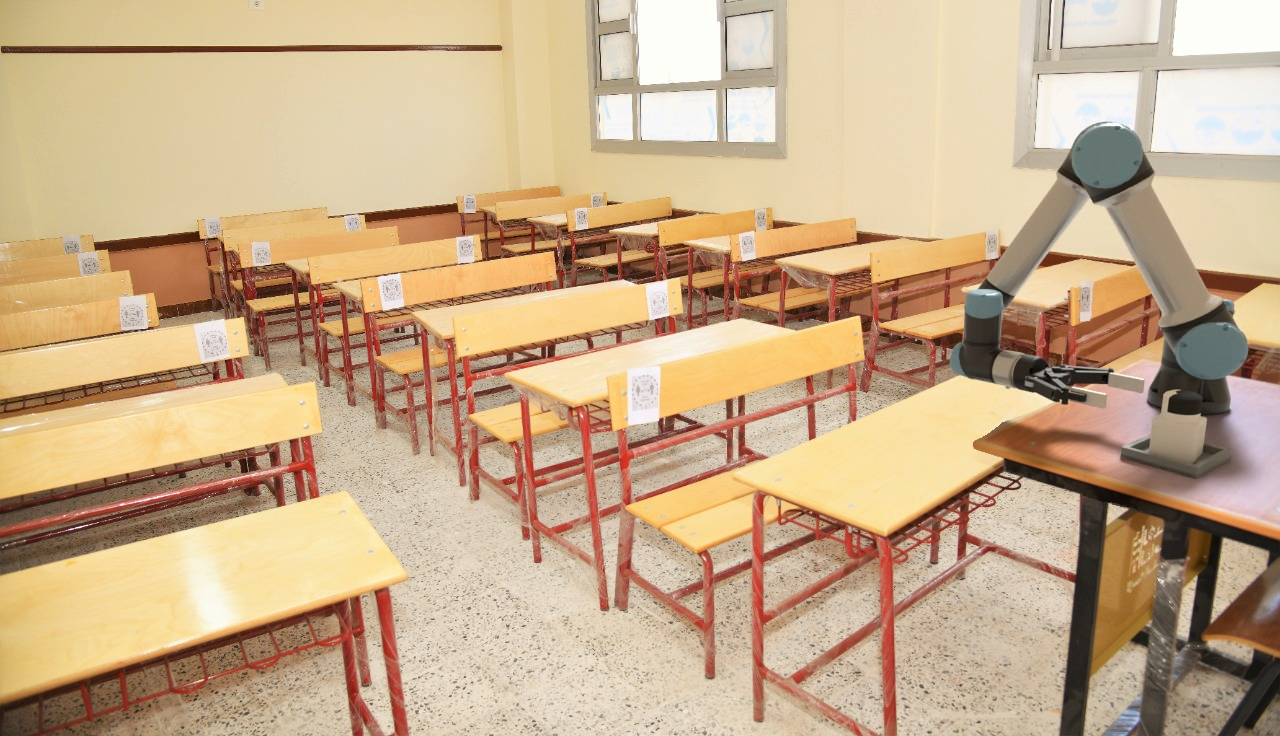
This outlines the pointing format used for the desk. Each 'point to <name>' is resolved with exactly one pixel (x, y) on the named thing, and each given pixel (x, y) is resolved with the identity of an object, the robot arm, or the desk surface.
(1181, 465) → the bottle tray
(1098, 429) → the desk surface
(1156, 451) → the medicine bottle
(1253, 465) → the desk surface
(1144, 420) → the desk surface
